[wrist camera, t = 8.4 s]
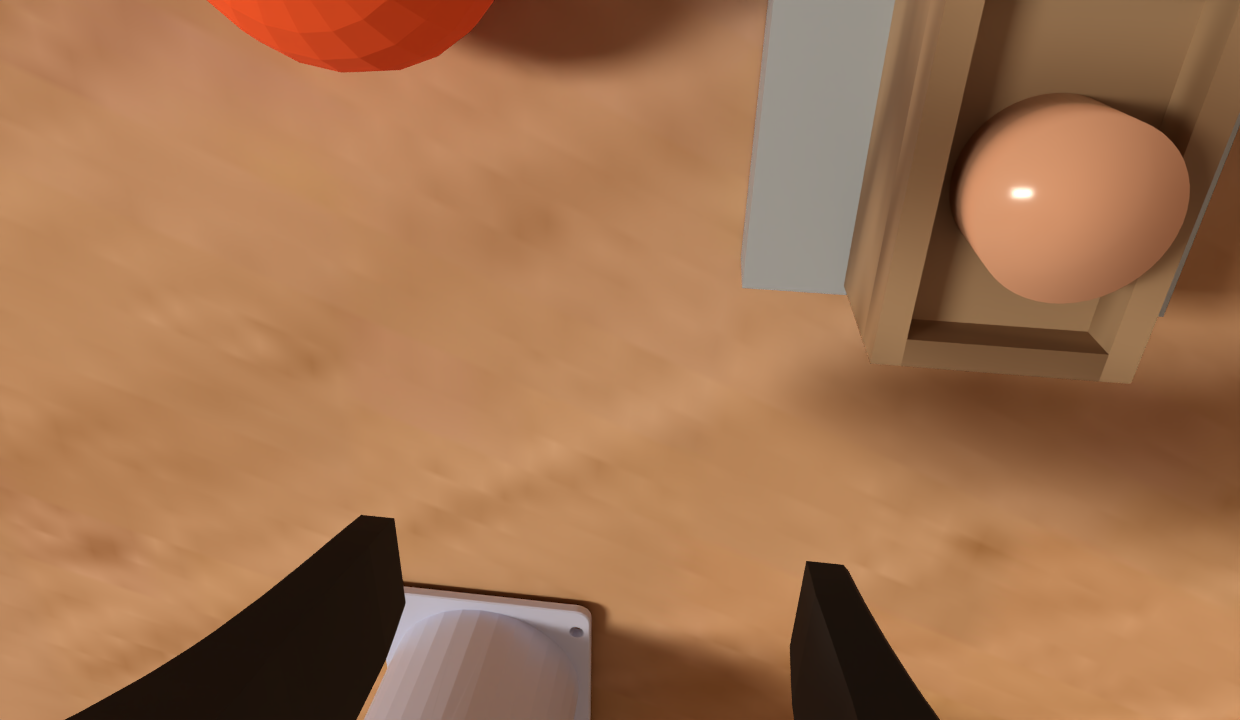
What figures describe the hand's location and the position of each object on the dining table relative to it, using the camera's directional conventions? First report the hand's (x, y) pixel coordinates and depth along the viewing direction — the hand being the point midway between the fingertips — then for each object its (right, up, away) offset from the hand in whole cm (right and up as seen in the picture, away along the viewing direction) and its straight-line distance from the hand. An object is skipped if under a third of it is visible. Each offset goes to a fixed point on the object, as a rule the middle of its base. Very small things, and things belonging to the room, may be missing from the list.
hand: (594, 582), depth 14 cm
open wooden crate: (+9, +9, +4) cm, 13 cm away
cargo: (+8, +7, +1) cm, 11 cm away
